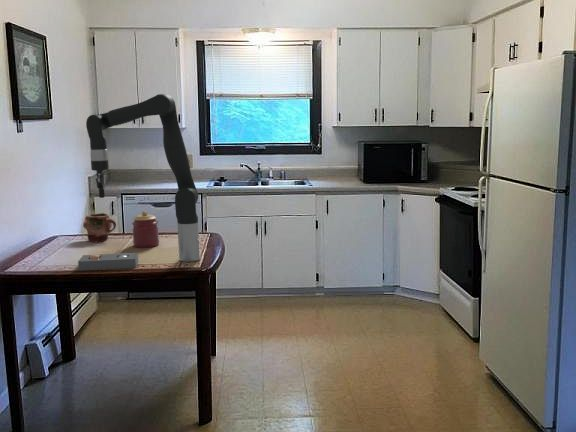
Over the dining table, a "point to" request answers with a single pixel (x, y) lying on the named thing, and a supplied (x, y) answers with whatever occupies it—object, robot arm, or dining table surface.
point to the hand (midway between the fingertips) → (102, 197)
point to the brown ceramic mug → (98, 226)
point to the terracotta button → (94, 257)
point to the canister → (145, 231)
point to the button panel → (108, 261)
